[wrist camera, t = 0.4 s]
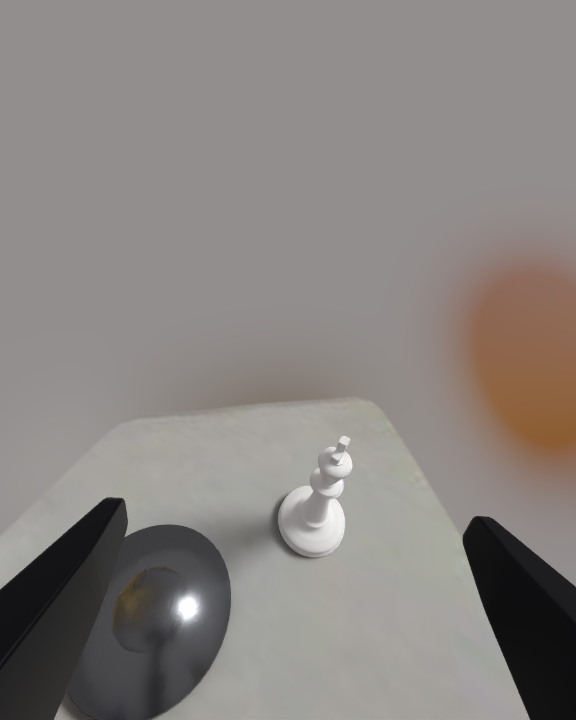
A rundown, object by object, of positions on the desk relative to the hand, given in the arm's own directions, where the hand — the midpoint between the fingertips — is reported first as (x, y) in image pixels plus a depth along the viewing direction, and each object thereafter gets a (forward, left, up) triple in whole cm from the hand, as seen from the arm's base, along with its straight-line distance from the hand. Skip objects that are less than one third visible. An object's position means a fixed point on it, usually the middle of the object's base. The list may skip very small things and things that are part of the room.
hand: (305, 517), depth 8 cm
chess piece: (+7, -4, -16) cm, 18 cm away
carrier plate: (+2, +6, -16) cm, 17 cm away
